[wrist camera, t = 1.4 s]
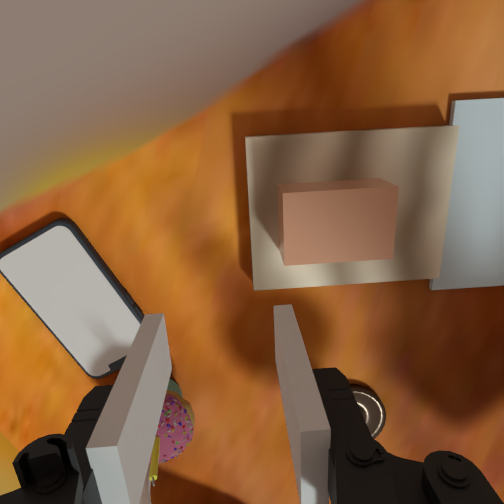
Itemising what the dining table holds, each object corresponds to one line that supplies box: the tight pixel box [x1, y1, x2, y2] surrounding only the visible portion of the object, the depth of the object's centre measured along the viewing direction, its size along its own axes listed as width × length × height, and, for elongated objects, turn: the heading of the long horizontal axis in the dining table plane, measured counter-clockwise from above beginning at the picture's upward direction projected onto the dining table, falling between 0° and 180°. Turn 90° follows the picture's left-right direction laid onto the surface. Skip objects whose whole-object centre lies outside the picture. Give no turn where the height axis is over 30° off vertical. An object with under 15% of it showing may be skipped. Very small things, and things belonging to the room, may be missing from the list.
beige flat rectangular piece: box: [245, 125, 459, 291], centre depth 34 cm, size 18×14×2 cm
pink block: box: [277, 178, 399, 266], centre depth 32 cm, size 9×6×4 cm, turn 93°
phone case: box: [0, 218, 145, 379], centre depth 37 cm, size 9×2×16 cm
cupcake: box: [149, 379, 195, 486], centre depth 36 cm, size 9×8×12 cm
